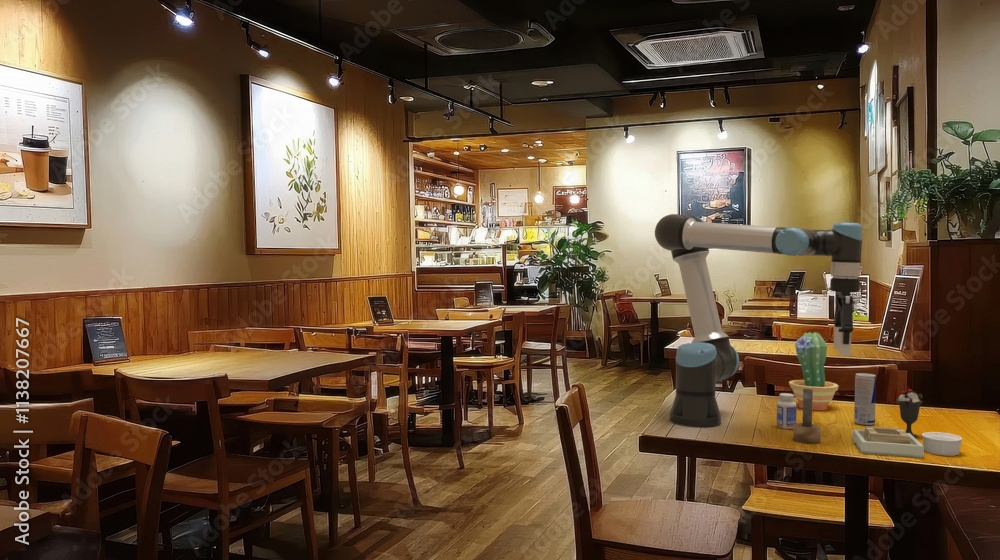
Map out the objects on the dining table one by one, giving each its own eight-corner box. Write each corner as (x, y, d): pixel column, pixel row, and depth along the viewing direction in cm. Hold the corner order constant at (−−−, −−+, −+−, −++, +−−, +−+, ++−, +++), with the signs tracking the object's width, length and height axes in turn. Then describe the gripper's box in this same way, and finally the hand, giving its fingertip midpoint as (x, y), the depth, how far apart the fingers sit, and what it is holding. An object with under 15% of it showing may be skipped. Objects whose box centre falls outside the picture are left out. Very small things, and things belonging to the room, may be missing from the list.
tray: (862, 453, 187) (862, 441, 187) (852, 440, 200) (852, 429, 200) (923, 458, 183) (923, 446, 183) (909, 444, 196) (909, 433, 196)
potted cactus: (781, 402, 252) (782, 330, 251) (827, 403, 251) (828, 330, 250) (798, 412, 236) (799, 335, 235) (846, 412, 236) (848, 335, 235)
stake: (794, 442, 197) (795, 391, 197) (792, 436, 204) (793, 386, 203) (822, 444, 195) (823, 392, 195) (818, 438, 202) (819, 388, 201)
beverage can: (877, 426, 217) (878, 376, 216) (857, 425, 218) (858, 375, 217) (871, 422, 222) (872, 373, 222) (852, 421, 223) (853, 372, 223)
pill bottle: (797, 426, 216) (798, 393, 216) (794, 430, 211) (795, 396, 211) (778, 424, 219) (778, 392, 219) (774, 427, 214) (775, 394, 214)
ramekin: (952, 459, 182) (952, 442, 182) (915, 451, 190) (915, 434, 189) (967, 453, 188) (968, 437, 187) (931, 446, 195) (931, 430, 195)
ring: (910, 452, 186) (910, 436, 186) (871, 449, 188) (871, 434, 188) (901, 443, 194) (901, 428, 194) (864, 441, 197) (864, 426, 197)
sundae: (891, 436, 205) (893, 383, 205) (899, 432, 210) (901, 380, 209) (918, 440, 200) (919, 386, 200) (925, 436, 205) (926, 383, 205)
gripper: (867, 280, 193) (863, 359, 194) (853, 276, 216) (849, 347, 217) (836, 278, 195) (832, 357, 196) (825, 275, 219) (822, 346, 220)
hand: (841, 352), depth 207 cm, fingers open, 13 cm apart
